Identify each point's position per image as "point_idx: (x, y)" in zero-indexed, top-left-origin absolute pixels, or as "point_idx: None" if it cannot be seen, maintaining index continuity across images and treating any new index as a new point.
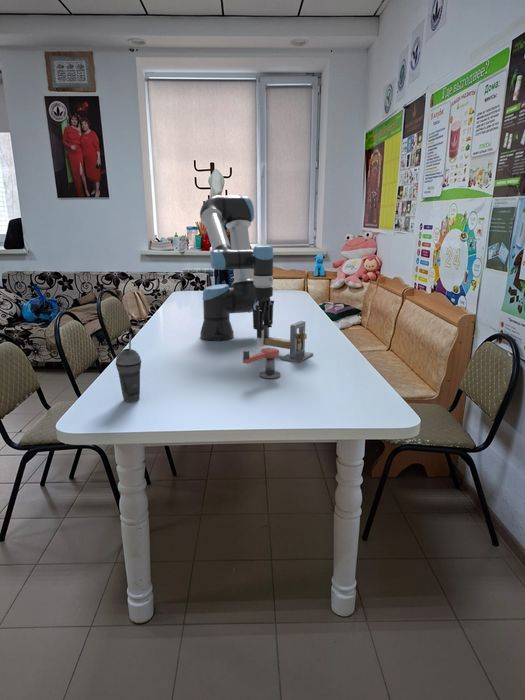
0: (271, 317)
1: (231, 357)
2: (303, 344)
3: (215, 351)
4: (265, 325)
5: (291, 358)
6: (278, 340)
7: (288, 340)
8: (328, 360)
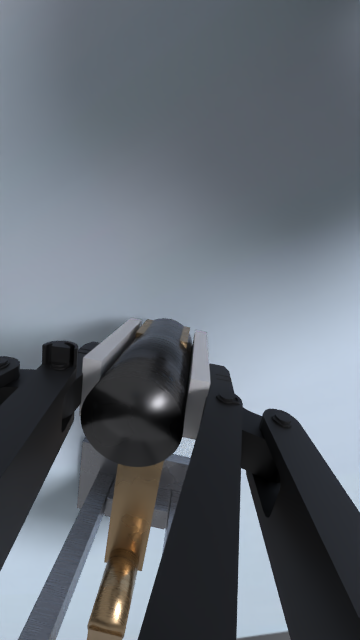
0: (277, 561)
1: (6, 219)
2: None
3: (53, 54)
4: (117, 452)
5: (90, 479)
6: (117, 470)
7: (140, 516)
8: (153, 571)
